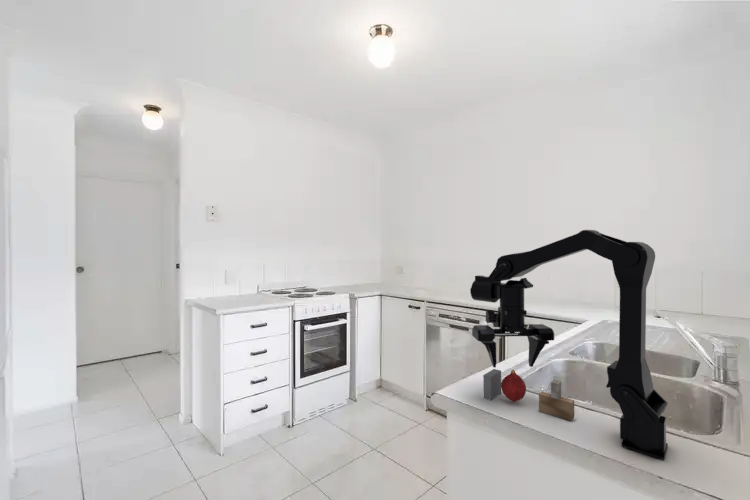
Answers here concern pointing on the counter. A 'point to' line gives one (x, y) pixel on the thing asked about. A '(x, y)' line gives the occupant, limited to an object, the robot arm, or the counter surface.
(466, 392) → the counter surface
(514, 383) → the onion
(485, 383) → the jamb
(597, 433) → the counter surface
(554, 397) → the door
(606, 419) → the counter surface
